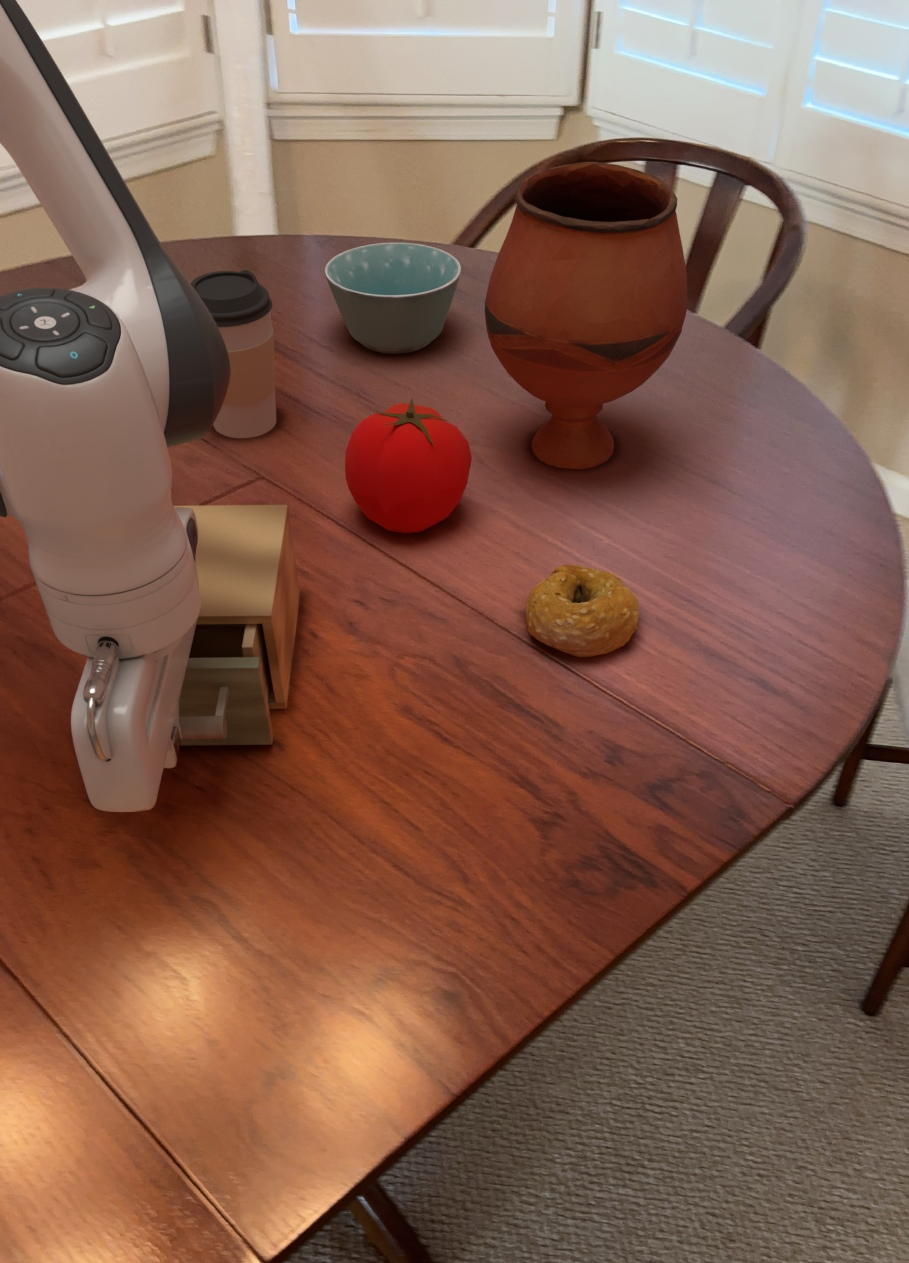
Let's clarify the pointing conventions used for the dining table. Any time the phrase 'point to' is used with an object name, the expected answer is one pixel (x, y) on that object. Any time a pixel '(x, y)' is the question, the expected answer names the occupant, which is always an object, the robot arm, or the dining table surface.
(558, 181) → the goblet
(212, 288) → the coffee cup
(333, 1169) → the dining table surface
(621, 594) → the bagel
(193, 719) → the tray drawer
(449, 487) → the tomato
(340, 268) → the bowl
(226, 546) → the cabinet
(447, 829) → the dining table surface
